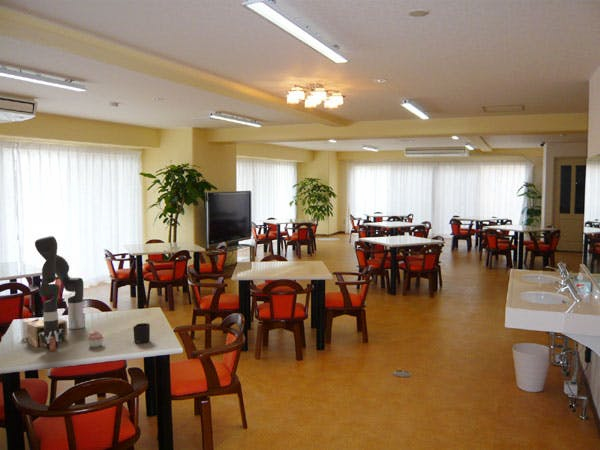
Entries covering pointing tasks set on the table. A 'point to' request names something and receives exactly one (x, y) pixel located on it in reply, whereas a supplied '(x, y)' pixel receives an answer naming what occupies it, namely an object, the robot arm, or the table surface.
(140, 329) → the pen holder
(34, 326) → the oak shelf
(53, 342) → the tethered block
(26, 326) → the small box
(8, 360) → the table surface
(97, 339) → the cupcake
